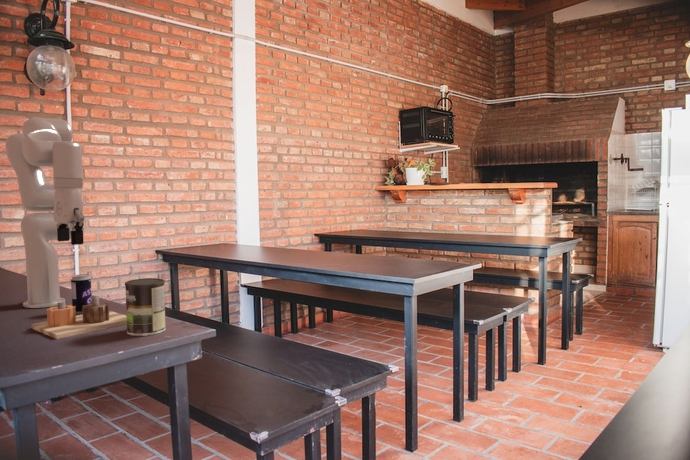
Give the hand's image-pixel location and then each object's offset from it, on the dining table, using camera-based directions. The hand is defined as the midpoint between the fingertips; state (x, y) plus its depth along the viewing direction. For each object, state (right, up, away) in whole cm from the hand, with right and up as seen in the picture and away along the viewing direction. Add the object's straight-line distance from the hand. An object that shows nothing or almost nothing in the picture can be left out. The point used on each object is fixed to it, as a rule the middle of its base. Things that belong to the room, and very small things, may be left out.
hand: (70, 242), depth 151 cm
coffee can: (+26, -25, -8) cm, 36 cm away
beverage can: (-4, -23, +15) cm, 28 cm away
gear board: (+5, -24, -1) cm, 25 cm away
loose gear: (0, -23, -4) cm, 23 cm away
